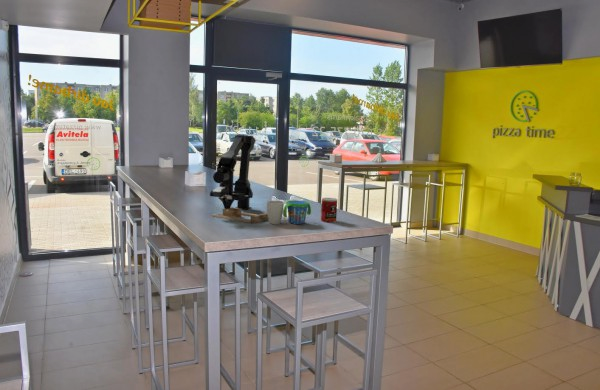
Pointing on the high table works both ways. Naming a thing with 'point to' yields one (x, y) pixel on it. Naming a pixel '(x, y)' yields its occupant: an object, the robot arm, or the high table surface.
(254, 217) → the light brown long piece
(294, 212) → the snack cup
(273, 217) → the cup
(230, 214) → the crate
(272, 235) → the high table surface
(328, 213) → the canned food
